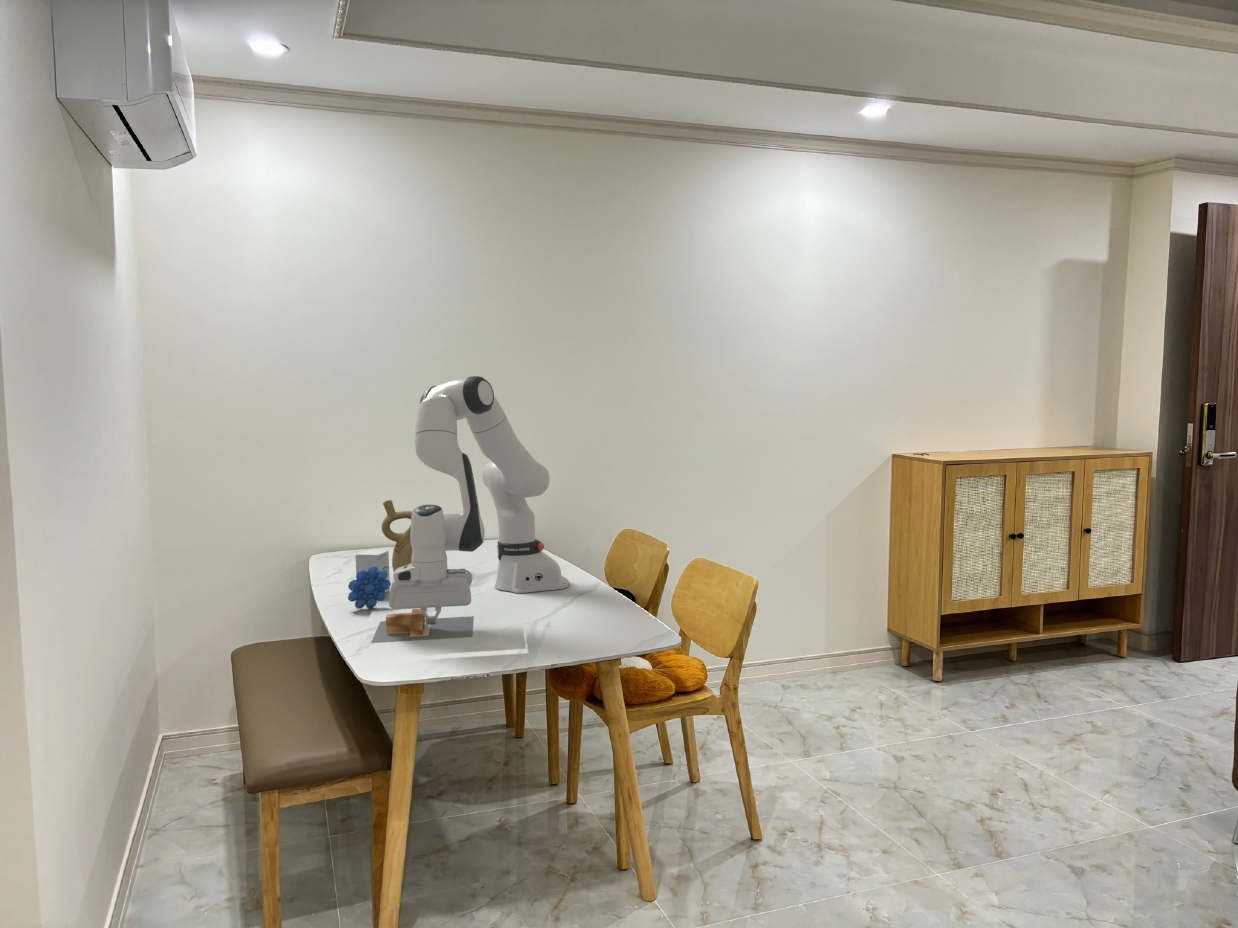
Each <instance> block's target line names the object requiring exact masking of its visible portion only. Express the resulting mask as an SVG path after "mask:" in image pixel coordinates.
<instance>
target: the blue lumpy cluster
mask: <svg viewBox="0 0 1238 928" xmlns="http://www.w3.org/2000/svg"><path fill="white" fill-rule="evenodd" d="M387 575H388V574H387V572H386V571H385V570H381V571H379V572H378V568H377V567H376V566H372V567H370V568H369V569H368V571H367V572H366V571H365V570H360V571H359V572H357V574H356V573H355V579H352V580H351V581H350V582H349V583H348V590H350V592H349V593H348V595H347V599H348V601H350V602H353V603H354V607H355V608H356V609H358V610H359V609H363V608H364V607H366V608H367V609H373V608H375V607H376V606H377V603H378V602H383V601H384V600H386V598H387V592H385V591H384V590H387V589H389V588H391V585H392V583H391V581H389V580H385V579H386V578H387Z"/></svg>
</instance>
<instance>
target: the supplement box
mask: <svg viewBox="0 0 1238 928" xmlns="http://www.w3.org/2000/svg"><path fill="white" fill-rule="evenodd" d="M389 553H390V551H389V550H385V549H367V550H366V549H365V550H364V551H362V552H359V553H356V554H355V575H356V574H357V572H359V571H360V570H365V571H366V572H367V571H368V569H369V568H370V567H372V566H376V567H377V568H378V572H379V571H381V570H385V571H386V572H387V574H388V575H387V578H386V579H385V580H389V581H390V580H391V579H390V554H389ZM390 582H391V581H390ZM390 588H391V587H390ZM390 588H389V589H387V590H384V591H385V592H386V593H389V592H390Z"/></svg>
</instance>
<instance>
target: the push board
mask: <svg viewBox="0 0 1238 928" xmlns="http://www.w3.org/2000/svg"><path fill="white" fill-rule="evenodd" d="M473 633H474V615H471V616H452V617H437V624H433V625H426V618H425V626H424V631H423V635H416V636H410V632H397V633H386V620H384V621H383V620H382V621H379V624H378V626H377V628H376V630H375V633H374V636H373V638H372V640H371V641H370V642H371V644H377V643H378V644H379V643H395V642H411V641H414V642H415V641H428V640H430V641H431V640H442V639H443V640H445V639H459V638H460V639H461V638H462V639H463V638H473V635H474V634H473Z"/></svg>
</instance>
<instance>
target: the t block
mask: <svg viewBox="0 0 1238 928" xmlns="http://www.w3.org/2000/svg"><path fill="white" fill-rule="evenodd" d="M425 619H426V618H425V617H424V616H423V614H422V613H421V608H413V609H411V612H399V613H388V614H386V616H385V621H386V633H397V632H410V636H416V635H423V631H424V626H425Z"/></svg>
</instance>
